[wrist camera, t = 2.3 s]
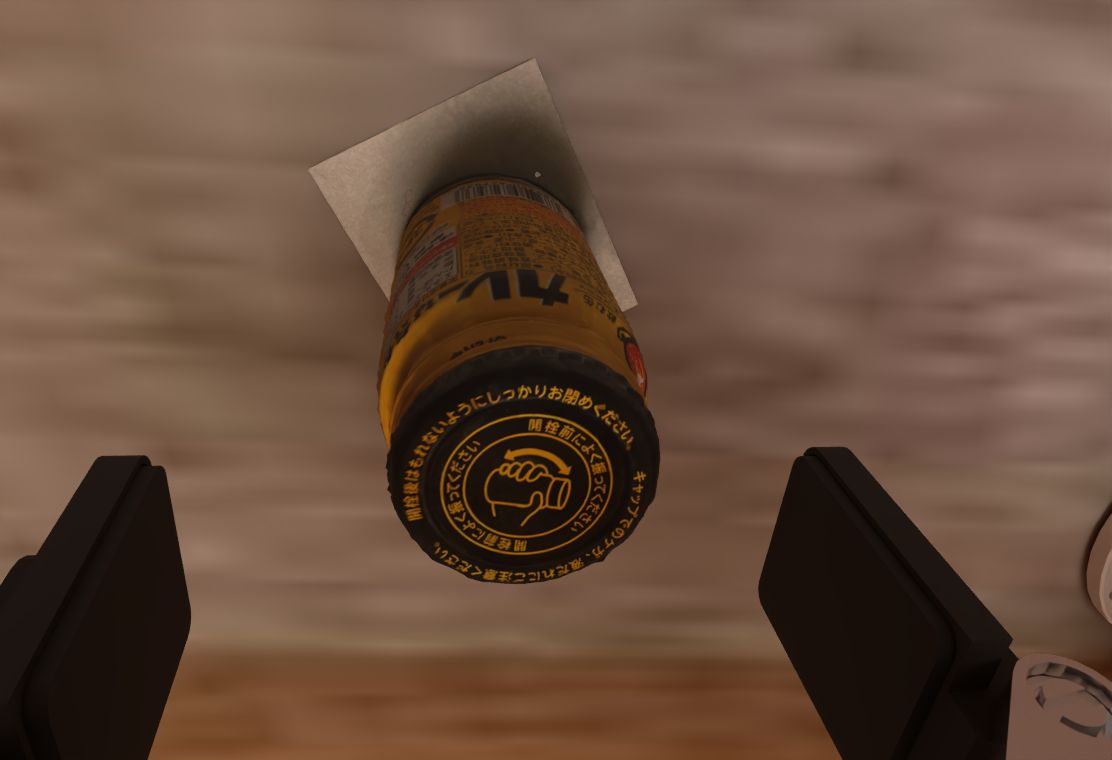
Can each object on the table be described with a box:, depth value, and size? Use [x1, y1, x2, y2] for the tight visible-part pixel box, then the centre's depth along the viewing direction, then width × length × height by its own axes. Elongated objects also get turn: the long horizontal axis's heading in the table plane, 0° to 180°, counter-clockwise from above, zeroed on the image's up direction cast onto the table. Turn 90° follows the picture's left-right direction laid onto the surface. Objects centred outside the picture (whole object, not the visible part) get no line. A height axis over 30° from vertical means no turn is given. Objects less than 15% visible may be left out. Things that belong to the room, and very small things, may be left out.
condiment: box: [308, 58, 660, 584], centre depth 19 cm, size 7×8×12 cm
